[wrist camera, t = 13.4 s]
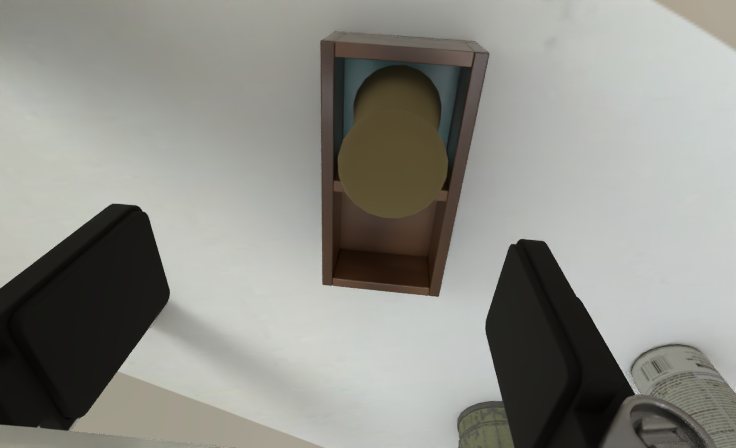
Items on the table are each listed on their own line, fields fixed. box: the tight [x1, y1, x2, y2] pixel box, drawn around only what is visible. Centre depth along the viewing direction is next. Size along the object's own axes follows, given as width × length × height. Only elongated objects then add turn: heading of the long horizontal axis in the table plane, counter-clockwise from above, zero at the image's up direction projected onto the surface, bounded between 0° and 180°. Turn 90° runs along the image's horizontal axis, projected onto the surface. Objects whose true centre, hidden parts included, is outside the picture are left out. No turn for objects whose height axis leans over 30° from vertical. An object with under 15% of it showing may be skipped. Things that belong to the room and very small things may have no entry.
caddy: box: [320, 31, 489, 297], centre depth 27 cm, size 9×17×5 cm, turn 177°
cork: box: [338, 65, 448, 218], centre depth 21 cm, size 6×6×11 cm
